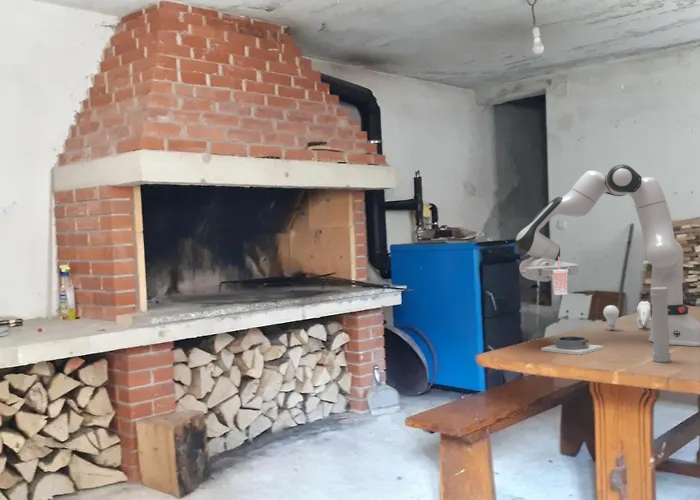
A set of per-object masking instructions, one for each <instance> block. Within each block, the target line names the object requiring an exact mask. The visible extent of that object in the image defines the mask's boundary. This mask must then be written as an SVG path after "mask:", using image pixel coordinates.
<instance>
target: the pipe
mask: <svg viewBox="0 0 700 500" xmlns="http://www.w3.org/2000/svg"><path fill="white" fill-rule="evenodd" d="M667 271H668V270H667ZM667 271H666V272H667ZM666 272H665V273H666ZM665 273H664V274H665ZM664 274H663V275H664ZM663 275H662V276H663ZM661 278H662V277H661ZM660 281H661V279H660ZM660 281H659V285H660ZM649 296H650V297H651V296H652V320H653V343H652V344H653V352H652V361H653V362H657V363H669V362H671V356H672V354H671V352H670V344H669V332H668V306H667V296H668V288H666V287H654V288H651V287H650V293H649Z"/></svg>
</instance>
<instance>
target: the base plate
mask: <svg viewBox="0 0 700 500" xmlns="http://www.w3.org/2000/svg"><path fill="white" fill-rule="evenodd" d="M589 345H590V346H589V348H585V349H574V350H568V349H559V348H557V347H556V343H555V344H552V345H551V344H550V345H546V346H543V347H541V348H540V349H541V350H540V351H542V352H548V353H549V352H550V353H560V354H566V353H567V354H569V355H575V354H577V356H581V354H582V355H585V354H589V353H592V351H593V352H596V351H600V350H602V349H604V345H601V344H600V345H599V344H590V343H589ZM588 352H589V353H588Z"/></svg>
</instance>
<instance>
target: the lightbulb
mask: <svg viewBox="0 0 700 500" xmlns="http://www.w3.org/2000/svg"><path fill="white" fill-rule="evenodd" d="M602 313H603V317H604V318H605V319H606V321H607V325H608V330H609V331H610V332H611V331H615V330H616V322H617V321H616V320H617V319H618V317H619V315H620V309H618V307H617V306H616V305H613V304H610V305H606V306H605V307H604V308H603V312H602Z"/></svg>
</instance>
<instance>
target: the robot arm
mask: <svg viewBox="0 0 700 500" xmlns="http://www.w3.org/2000/svg"><path fill="white" fill-rule="evenodd" d="M605 194H606V195H611V196H614V197H623V196H626V195H629V196H630V197H631V198H632V200H633V203H634V207H635V209H636V214H637V217H638V220H639V223H640V227H641V233H642V239H643V245H644V251H645V255H646V257H645V258H646V260H647V261H648V263H649V264H650V265H651V267H652V268H651V279H650V289H651V288H654V287H666V288H668V296H667V306H668V332H669V345H671V346H672V345H673V346H690V347H700V321H698V320H697V319H696V318H694V317H693V316H692V315H690V314H689V310H690V309H691V308H690V305H686V304H685V303H684V301H683V300H684V297H683V293H684V292H683V274H684V249H683V246H682V245H681V244H680V242H679V241H677V240H676V237H675V233H674V228H673V219H672V217H671V213H670V210H669V206H668V202H667V199H666V196H665V193H664V191H663V188H662V187H661V184H660V183H659V181H658V180H657V179H656V177H652V176H644V177H642V176H641V175H640V174H639V173H638V172H637V171H636V170H635V169H634V168H633V167H631V166H630V165H627V164H618V165H615V166H613V167H611V168H610V170H609V171H608V172H607V173H601V172H600V171H597V170H595V169H593V170H587V171H586V172H584V173H583V174H582V175H581V176H580V177H579V179H577V181H576V182H575V183H574V185H573V186H572V187H571V189H570V190H569V191H568V192H567V193H566V194H565V195H563V196H557V197H555V198H553V199H552V200H551V201H550V202H549V203H548V204H547V205H546V206H544V208H543V209H542V210H541V211H540V212H539V213H537V215H536V216H535V217H534V218H533V219H532V220H531V221H530V222H529V223H528V224H527V225H526V226H525V227H523V228H522V229H521V230H520V231H519V232H518V233H517V235H516V237H515V244H516V248H517V249H518V250H519V251H521V252H523V253H525V254H526V255H529V256H530V257H529V258H527V259H524V260H522V261H521V262H520V264H519V273H520V274H521V276H522V277H523V278H526V279H527V280H531V281H536V282H537V281H538V282H546V283H547V282H550V281H553V278H552V274H553V270H557V269H559V265H558V257H559V259H560V258H561V247H560V245H559V244H558V243H556V242H555V241H553V240H552V239H550V238H549V237H547V236H546V235H544V234H542V233H541V232H540V230H541V229H542V228H543V227H545V225H546V224H547V223H549V221H550V220H552V218H553V217H555V216H557V215H564V216H569V217H573V218H574V217H575V218H579V217H583V216H586V215H588V214H589V213H590V212H591V210H592V209H593V208H594V206H595V205H596V204H597V202H598V201H599V200H600V198H601V197H602V195H605ZM560 269H562V270H568V272H567V276H574V275H578V274H579V265H578V264H577V263H573V262H567V261H566V260H560ZM667 270H668V271H667ZM666 271H667V272H666ZM665 272H666V273H665ZM664 273H665V274H664ZM663 274H664V275H663ZM662 275H663V276H662ZM661 277H662V278H661ZM660 279H661V281H660ZM659 281H660V285H659ZM650 314H651V328H649V336H648V338H647V340H648V341H649V342H651V343H652V342H653V320H652V296H650Z"/></svg>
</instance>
